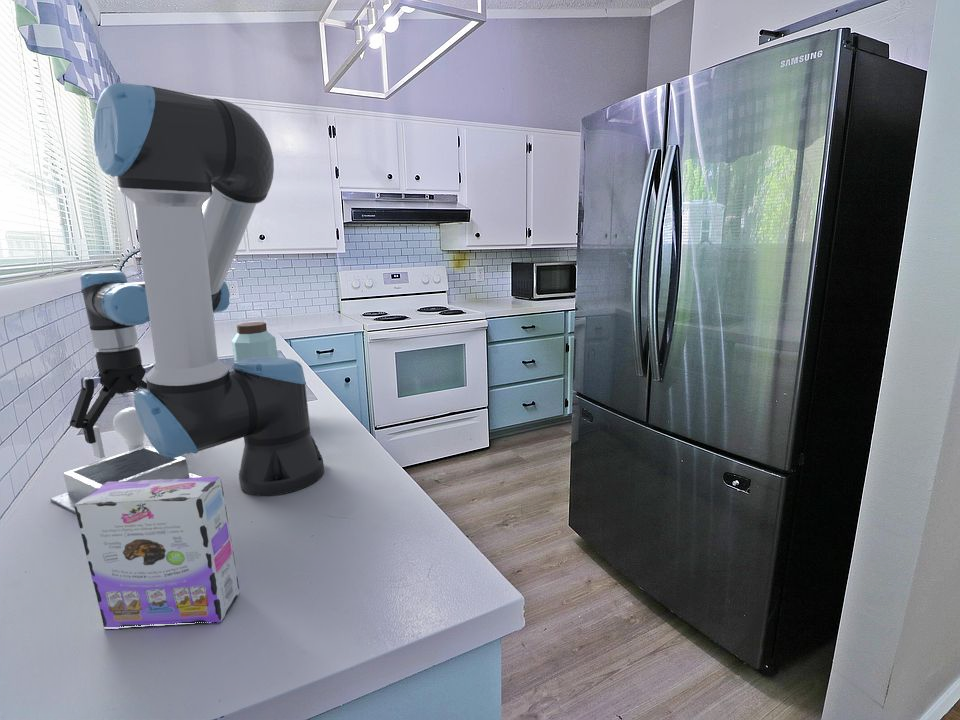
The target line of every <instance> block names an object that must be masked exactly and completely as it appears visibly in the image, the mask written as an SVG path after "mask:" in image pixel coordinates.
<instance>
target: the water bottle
mask: <svg viewBox="0 0 960 720" xmlns="http://www.w3.org/2000/svg"><path fill="white" fill-rule="evenodd" d="M236 330H237V331H236V332H237V333H236V334H235V336H234V337H233V338H232V339H231V347H232V353H233V359H234V360H233V361H234V362H235V361H236V360H240V359H245V358H261V357H272V358H279V357H278V356H279V355H278V348H277V340H276V337H275V336H274V335H272V334H271V333H270V332H269V331H268V329H267V323H266V322H265V321H255V322H254V321H252V322H243V323H240V324H239V323H238V324H237V325H236Z"/></svg>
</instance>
